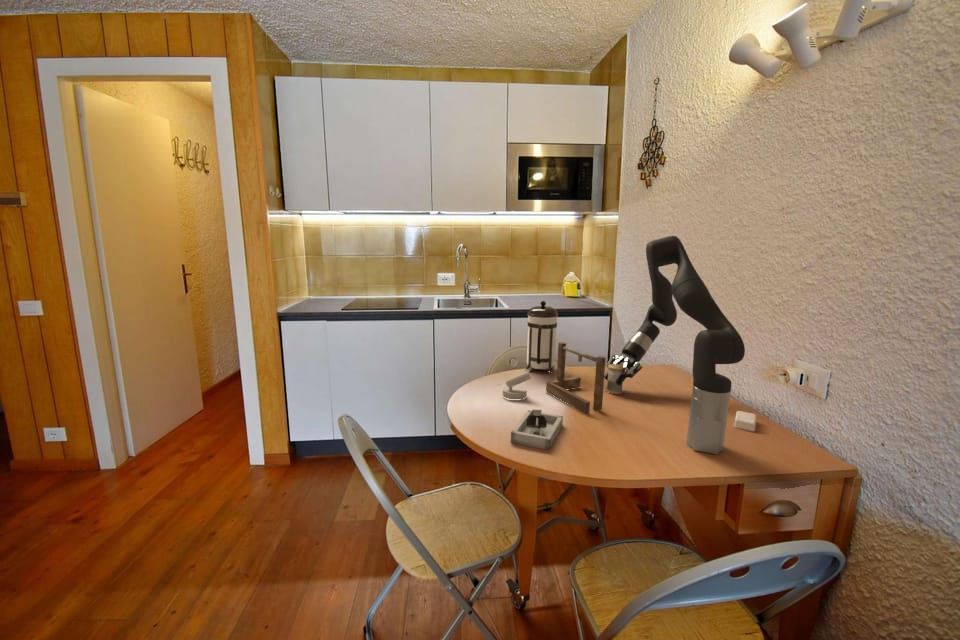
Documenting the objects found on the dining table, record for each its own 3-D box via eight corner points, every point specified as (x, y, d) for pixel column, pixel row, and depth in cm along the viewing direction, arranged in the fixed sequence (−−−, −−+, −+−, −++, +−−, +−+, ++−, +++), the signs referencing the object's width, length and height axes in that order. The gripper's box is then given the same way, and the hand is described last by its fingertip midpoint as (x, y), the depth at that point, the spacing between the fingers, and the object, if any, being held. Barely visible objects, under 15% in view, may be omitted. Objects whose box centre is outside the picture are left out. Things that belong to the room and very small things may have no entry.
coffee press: (514, 366, 193) (516, 299, 187) (544, 362, 200) (547, 297, 194) (537, 378, 178) (540, 305, 172) (568, 373, 185) (572, 303, 179)
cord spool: (621, 395, 161) (623, 369, 159) (605, 393, 163) (607, 367, 161) (622, 390, 166) (625, 365, 164) (607, 388, 168) (609, 363, 166)
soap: (735, 418, 143) (736, 409, 142) (755, 422, 140) (756, 413, 139) (733, 428, 135) (734, 419, 135) (754, 432, 133) (755, 423, 132)
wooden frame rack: (576, 386, 169) (579, 340, 166) (619, 406, 150) (623, 354, 146) (545, 392, 163) (547, 344, 159) (585, 414, 143) (589, 360, 140)
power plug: (544, 417, 137) (547, 408, 126) (544, 441, 133) (547, 435, 123) (526, 416, 137) (527, 407, 126) (525, 440, 134) (526, 433, 123)
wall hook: (533, 374, 153) (504, 374, 152) (532, 400, 154) (503, 400, 154) (529, 367, 161) (502, 367, 161) (528, 392, 163) (501, 392, 162)
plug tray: (548, 449, 119) (549, 439, 119) (510, 441, 124) (511, 432, 123) (562, 425, 135) (562, 416, 134) (527, 419, 139) (528, 410, 138)
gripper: (657, 357, 161) (630, 393, 158) (627, 348, 174) (602, 381, 171) (648, 345, 158) (620, 381, 155) (618, 336, 170) (593, 369, 167)
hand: (611, 381), depth 163 cm, fingers closed on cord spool, 5 cm apart
